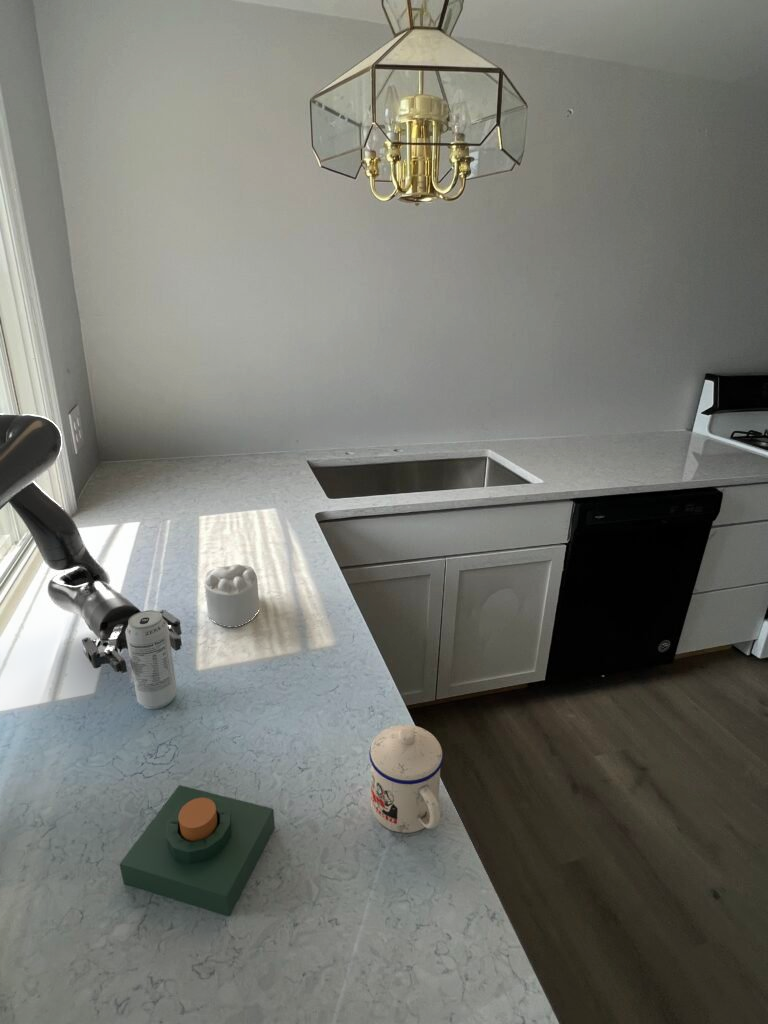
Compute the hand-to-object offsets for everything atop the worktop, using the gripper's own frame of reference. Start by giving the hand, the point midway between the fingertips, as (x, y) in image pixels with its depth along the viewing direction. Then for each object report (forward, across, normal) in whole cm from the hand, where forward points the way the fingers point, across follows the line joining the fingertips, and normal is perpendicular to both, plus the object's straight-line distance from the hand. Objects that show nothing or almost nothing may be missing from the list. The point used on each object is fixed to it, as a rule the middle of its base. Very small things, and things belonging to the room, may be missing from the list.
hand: (152, 656), depth 87 cm
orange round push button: (+30, -8, +4) cm, 31 cm away
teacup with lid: (+43, +13, +9) cm, 45 cm away
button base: (+30, -8, +8) cm, 32 cm away
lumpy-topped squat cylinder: (-16, +23, +9) cm, 30 cm away
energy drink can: (0, 0, +9) cm, 9 cm away
